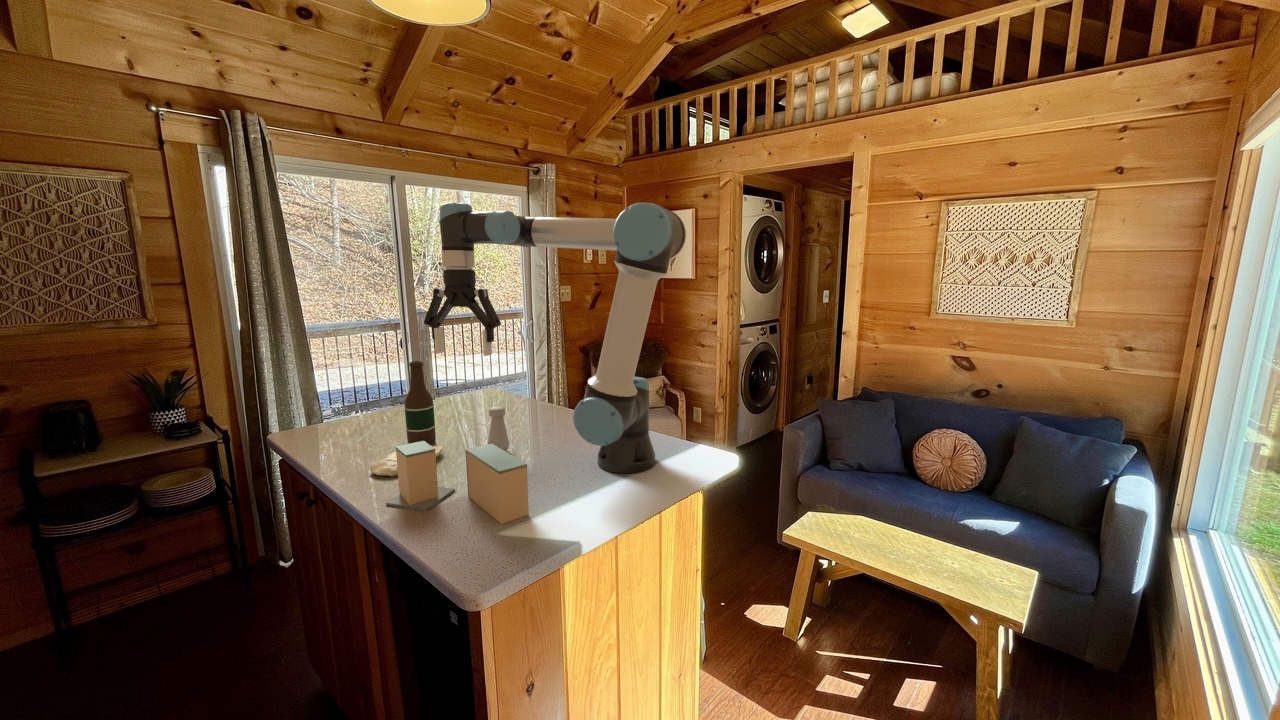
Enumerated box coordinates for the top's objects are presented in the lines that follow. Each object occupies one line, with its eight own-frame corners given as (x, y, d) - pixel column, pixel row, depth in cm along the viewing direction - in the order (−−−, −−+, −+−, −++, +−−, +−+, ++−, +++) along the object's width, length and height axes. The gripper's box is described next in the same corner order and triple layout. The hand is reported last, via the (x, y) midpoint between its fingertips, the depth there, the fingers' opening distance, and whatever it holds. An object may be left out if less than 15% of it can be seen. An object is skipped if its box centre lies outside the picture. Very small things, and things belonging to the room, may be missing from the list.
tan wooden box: (468, 496, 114) (465, 449, 112) (494, 489, 118) (491, 443, 116) (501, 524, 102) (499, 471, 100) (528, 514, 105) (527, 463, 104)
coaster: (455, 491, 117) (454, 488, 116) (426, 510, 107) (426, 508, 107) (417, 486, 119) (416, 484, 119) (386, 505, 109) (385, 502, 109)
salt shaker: (503, 457, 138) (501, 410, 136) (484, 455, 139) (481, 409, 137) (513, 450, 143) (511, 405, 141) (494, 448, 145) (492, 404, 142)
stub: (399, 494, 114) (395, 446, 112) (427, 486, 117) (423, 440, 115) (409, 504, 108) (405, 455, 106) (438, 496, 112) (435, 448, 110)
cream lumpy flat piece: (359, 473, 127) (427, 450, 144) (393, 484, 121) (460, 458, 138) (357, 459, 126) (426, 437, 144) (392, 469, 120) (459, 445, 137)
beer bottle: (441, 441, 150) (436, 360, 146) (418, 448, 144) (411, 365, 140) (425, 436, 155) (419, 358, 150) (401, 443, 148) (395, 362, 144)
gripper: (512, 269, 126) (515, 353, 130) (424, 268, 132) (430, 349, 136) (497, 268, 119) (500, 358, 123) (405, 268, 125) (411, 354, 129)
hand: (463, 354), depth 130 cm, fingers open, 13 cm apart
